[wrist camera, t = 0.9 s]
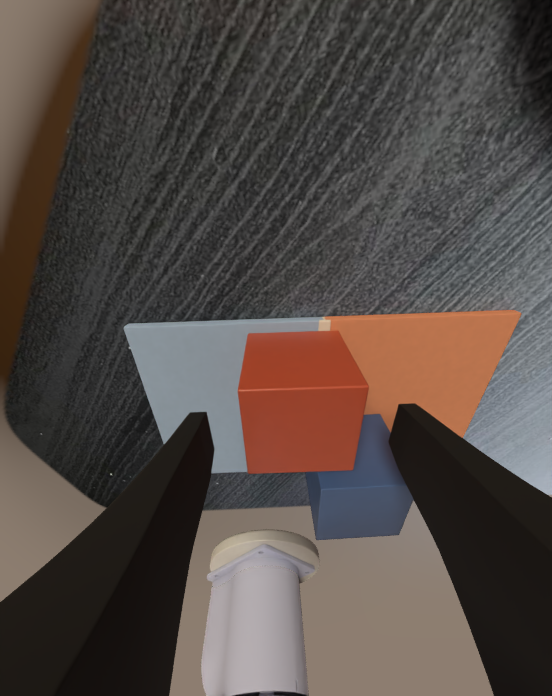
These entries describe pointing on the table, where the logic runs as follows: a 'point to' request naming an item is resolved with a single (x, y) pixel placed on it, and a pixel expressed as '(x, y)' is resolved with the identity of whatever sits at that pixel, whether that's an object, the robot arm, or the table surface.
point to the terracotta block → (300, 402)
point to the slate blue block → (361, 490)
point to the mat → (362, 341)
